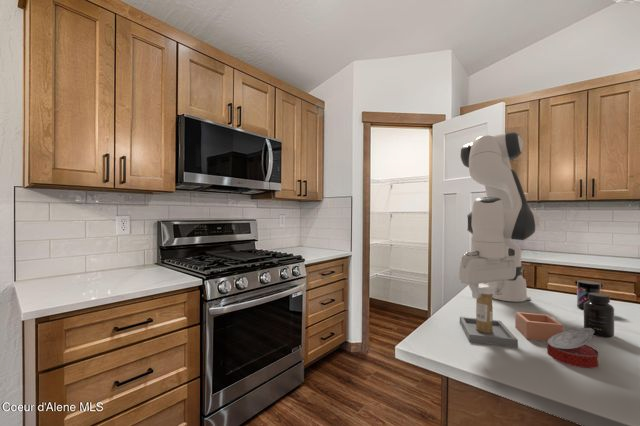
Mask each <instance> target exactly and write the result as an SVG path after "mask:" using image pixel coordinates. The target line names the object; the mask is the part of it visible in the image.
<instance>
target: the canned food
mask: <svg viewBox="0 0 640 426" xmlns="http://www.w3.org/2000/svg"><path fill="white" fill-rule="evenodd" d="M593 334H594V330H593V329H592V328H584V327H582V328H574V329H571V330H569V329H568V330H565V331H563V332H562V333H558V334H556V335H554V336H552V337H551V338H549V339H548V341H546V342H547V343H546V344H547V348H546V351H547V352H546V353H547V355H548V356H549V357H550V358H552V359H554V360H556V361H558V362H560V363H562V364H563V363H564V364H566V365H569V366H572V367H577V368H584V369H593V368H598V367H599V352H598V350H597V349H595V348H594V347H592V346H590V345H588V343H589V342H590V341H591V340H592V338H593V336H594V335H593Z"/></svg>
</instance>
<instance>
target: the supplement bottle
mask: <svg viewBox="0 0 640 426" xmlns="http://www.w3.org/2000/svg"><path fill="white" fill-rule="evenodd" d="M588 299H589V301H587V302H585V303H584V310H583V328H592V329H593V330H594V334H593V335H592V336H595V337H600V338H606V339H607V338H613V337H614V336H615V308H614V306H613V305H612V304H610V302H611V300H610V296H609V294H605V293H601V292H600V293H588Z"/></svg>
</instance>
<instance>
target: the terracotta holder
mask: <svg viewBox="0 0 640 426" xmlns="http://www.w3.org/2000/svg"><path fill="white" fill-rule="evenodd" d="M514 314H515V317H514V318H515V324H514V325H515V326H514V327H515V329H516V330H517V331H518V332H519V333H520V334H521V335H522V336H523V337H524V338H525V339H526V340H532V339H533V340H532V341H542V342H547V341H548V339H549V338H551V337H552V336H554V335H556V334H558V333H562V332H564V324H562V323H561V322H559V321H558V320H557V319H556V318H554V317H552V316H551V315H549V314H543V313H534V312H533V313H532V312H531V313H530V312H522V311H521V312H520V311H515V313H514Z"/></svg>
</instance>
